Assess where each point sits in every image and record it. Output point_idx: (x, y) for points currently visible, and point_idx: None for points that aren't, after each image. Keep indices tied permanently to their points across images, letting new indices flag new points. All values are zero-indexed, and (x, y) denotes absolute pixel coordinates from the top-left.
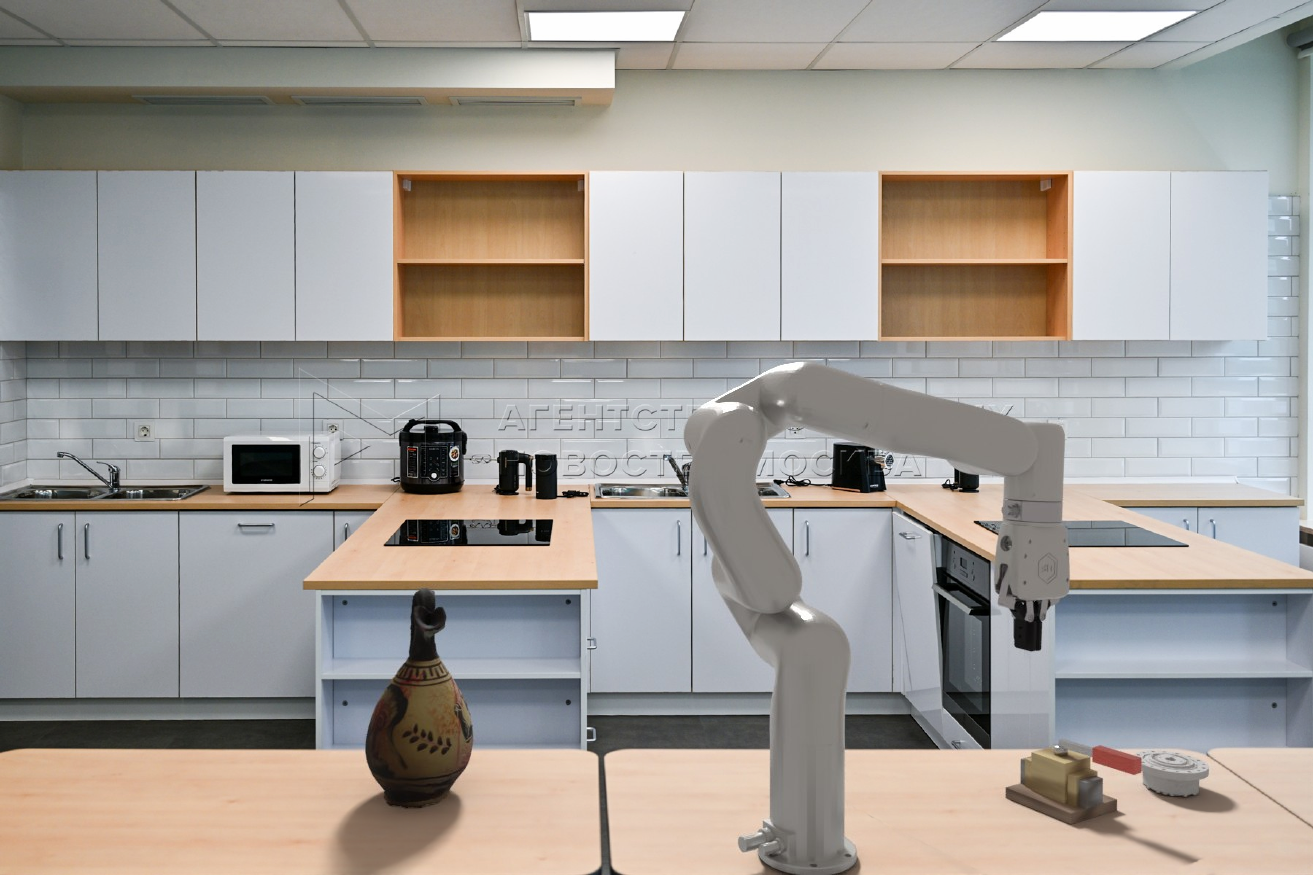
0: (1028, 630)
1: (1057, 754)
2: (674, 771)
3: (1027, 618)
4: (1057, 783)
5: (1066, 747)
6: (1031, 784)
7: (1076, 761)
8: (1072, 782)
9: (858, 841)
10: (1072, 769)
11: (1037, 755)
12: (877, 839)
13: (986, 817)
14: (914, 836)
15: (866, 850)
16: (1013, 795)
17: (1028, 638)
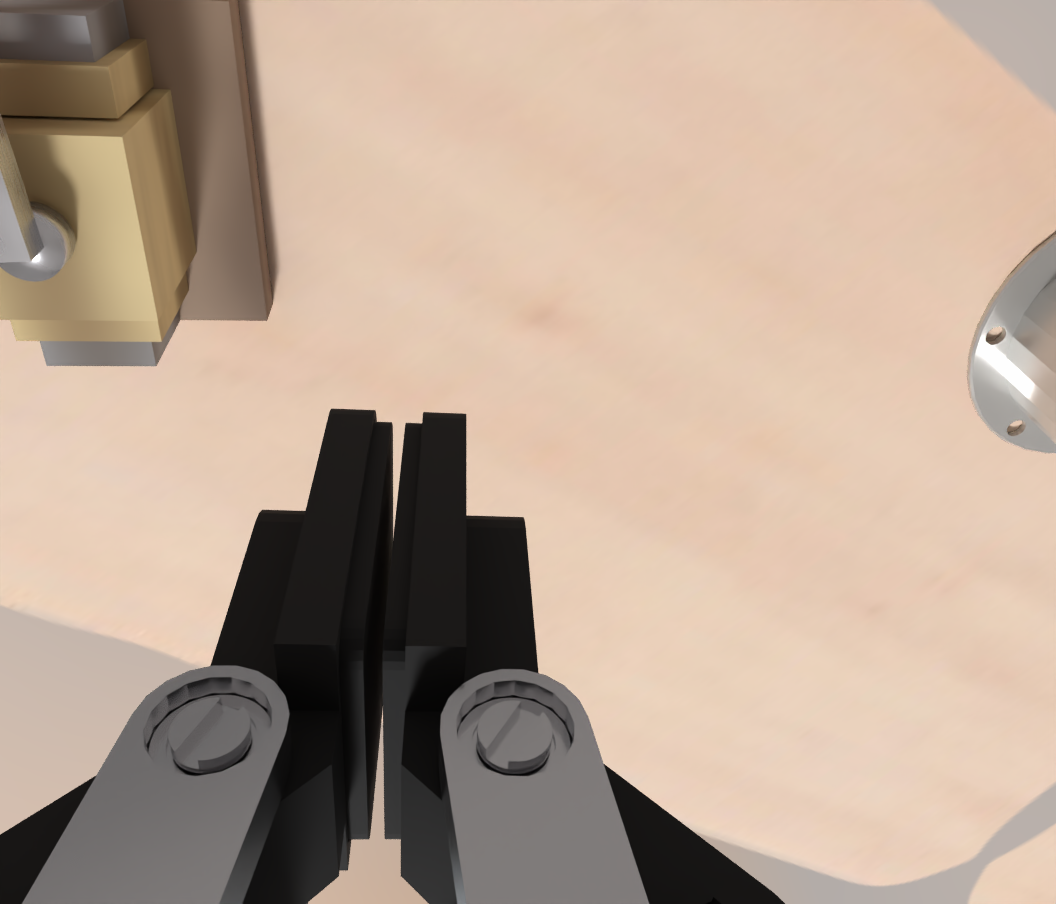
0: (469, 612)
1: (71, 229)
2: (910, 784)
3: (583, 719)
4: (157, 146)
5: (27, 206)
6: (191, 260)
7: (27, 132)
8: (122, 81)
9: (968, 294)
10: (71, 124)
11: (152, 286)
12: (916, 277)
13: (480, 218)
14: (811, 234)
15: (1010, 237)
16: (265, 277)
17: (466, 541)
